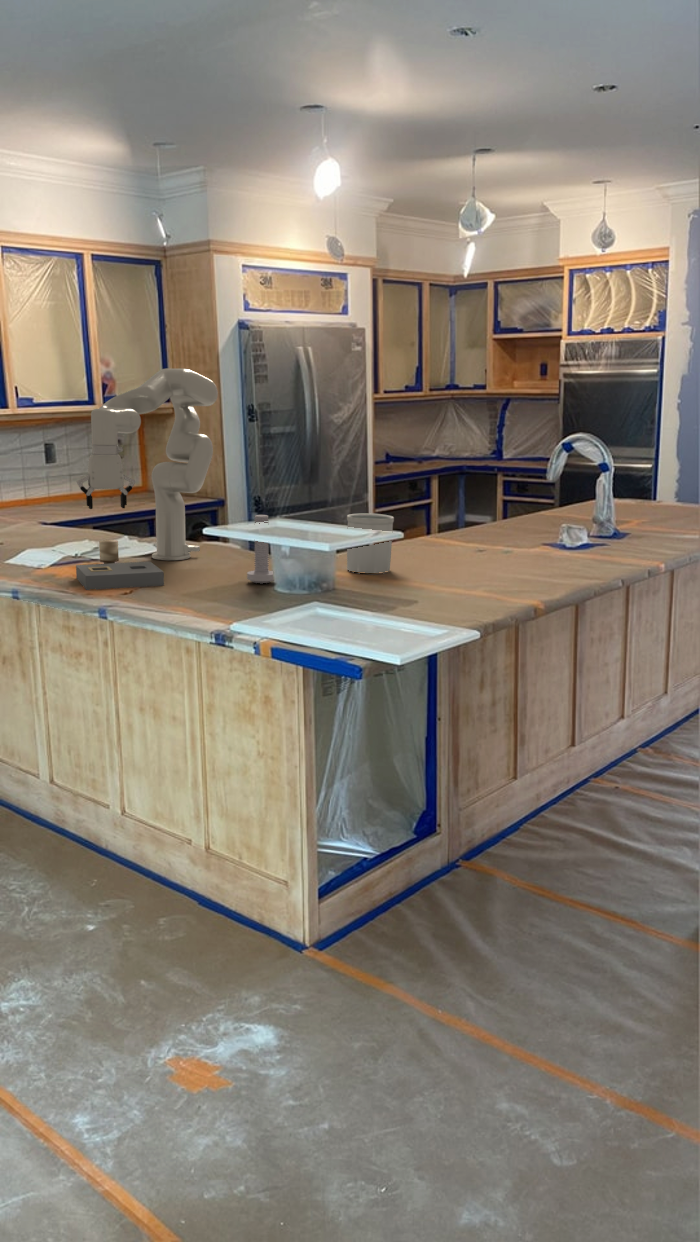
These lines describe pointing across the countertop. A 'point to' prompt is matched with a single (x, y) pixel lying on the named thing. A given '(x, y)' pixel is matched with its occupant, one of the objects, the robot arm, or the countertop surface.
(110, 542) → the peg
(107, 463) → the robot arm
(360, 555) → the utensil holder
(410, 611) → the countertop surface
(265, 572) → the screw
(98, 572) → the seat block
